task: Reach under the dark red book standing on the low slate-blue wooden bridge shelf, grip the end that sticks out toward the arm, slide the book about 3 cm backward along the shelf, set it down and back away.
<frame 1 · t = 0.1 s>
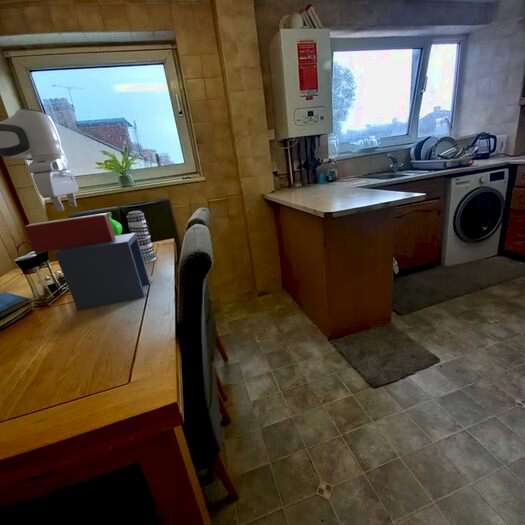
hand: (67, 208, 94), 33 cm above the table, tool pointing down, fingers open, 8 cm apart
leaning tower model: (147, 260, 142), on the table
book: (77, 245, 95), point 21 cm above the table, touching shelf
shelf: (116, 295, 104), on the table
plastic bottle: (120, 259, 150), on the table
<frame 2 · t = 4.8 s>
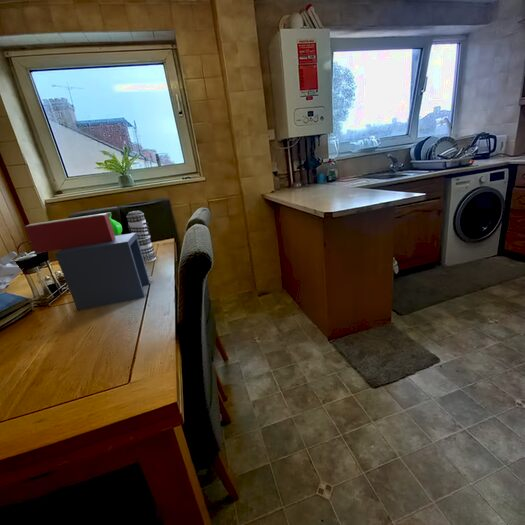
hand: (20, 253, 97), 21 cm above the table, tool pointing upward, fingers open, 8 cm apart
nothing on the table moved.
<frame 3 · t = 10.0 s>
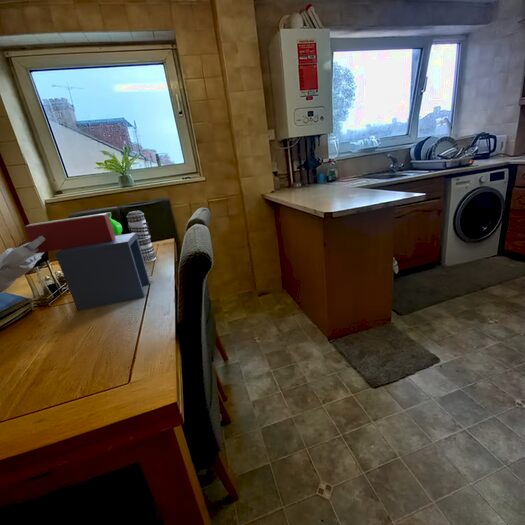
hand: (48, 235, 92), 26 cm above the table, tool pointing upward, fingers closed on book, 4 cm apart
book: (77, 245, 95), point 21 cm above the table, touching gripper, shelf
everything else where it was.
when the fingers open (26 cm above the table, at t = 12.3 s): book stays where it is, resting on shelf.
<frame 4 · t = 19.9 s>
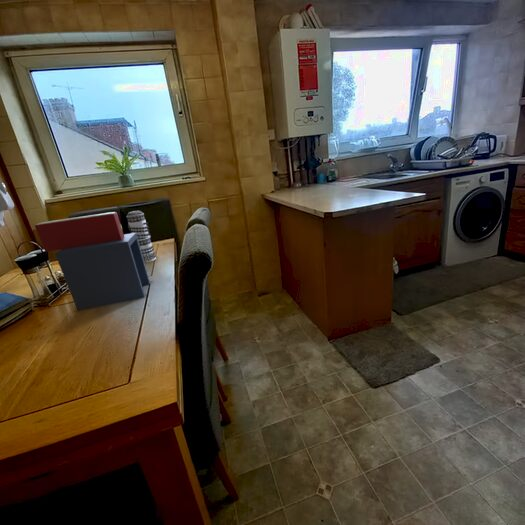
book: (86, 244, 96), point 21 cm above the table, touching shelf
everything else where it was.
at the end: book 0.7 cm from the target spot, point 21.0 cm above the table; book tilted 0°; the gripper is holding nothing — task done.
